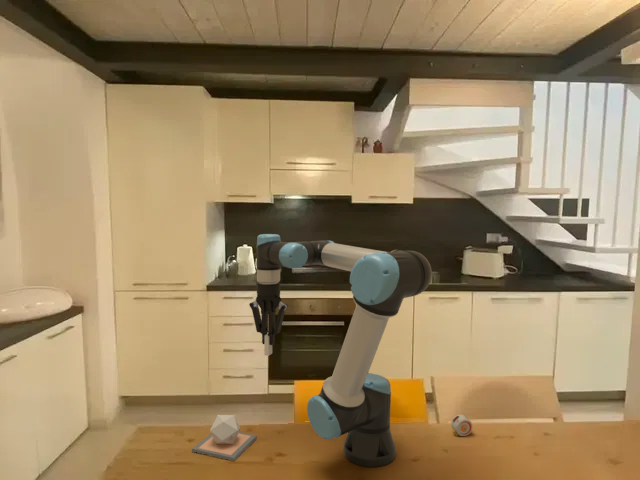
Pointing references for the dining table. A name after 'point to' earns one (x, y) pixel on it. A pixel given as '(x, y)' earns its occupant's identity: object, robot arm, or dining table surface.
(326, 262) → the robot arm
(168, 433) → the dining table surface
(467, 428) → the roller toy
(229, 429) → the die
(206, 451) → the base plate
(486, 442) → the dining table surface
